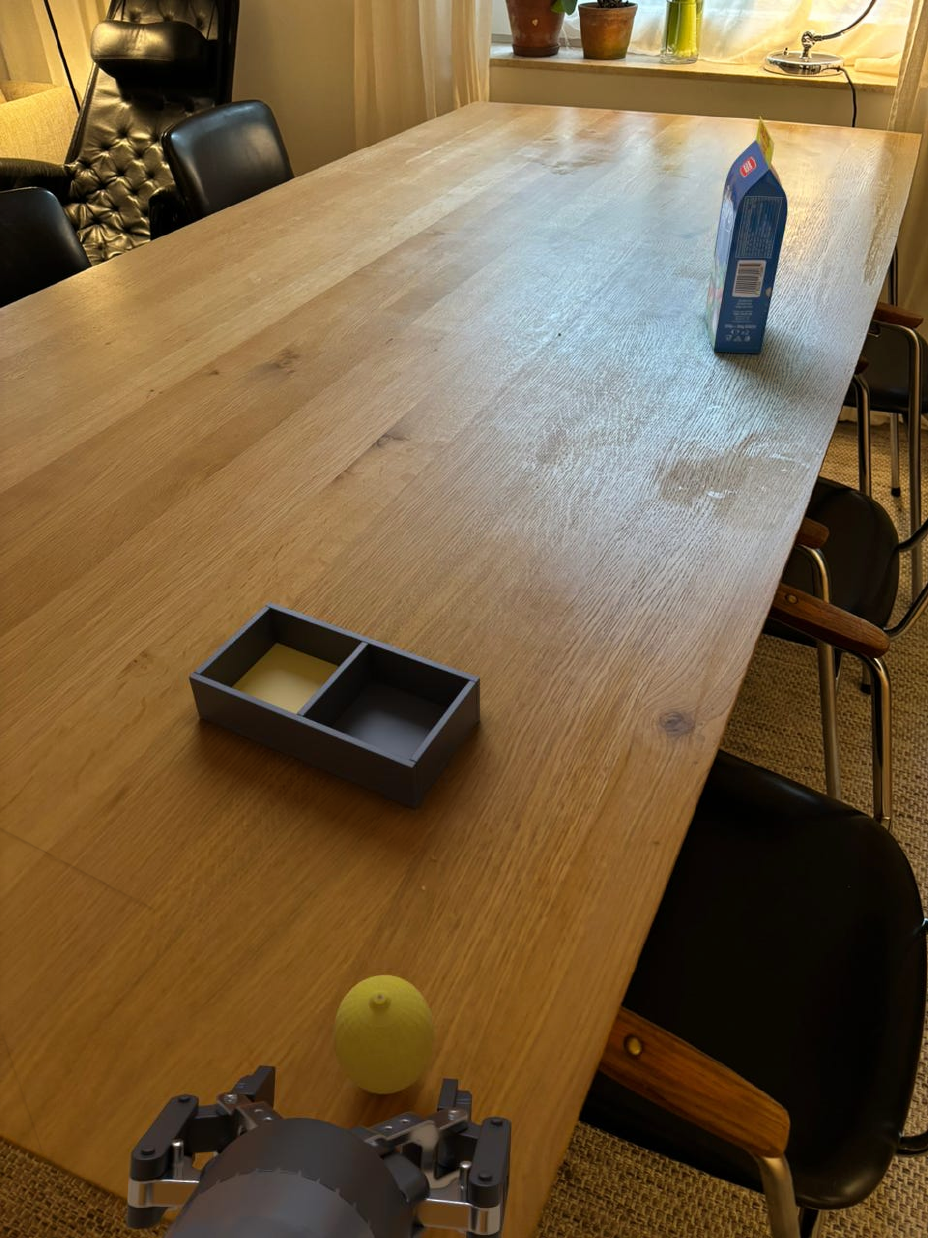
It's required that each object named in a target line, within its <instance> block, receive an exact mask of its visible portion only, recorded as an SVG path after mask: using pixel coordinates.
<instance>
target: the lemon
mask: <svg viewBox="0 0 928 1238" xmlns="http://www.w3.org/2000/svg"><path fill="white" fill-rule="evenodd" d="M435 1042H436V1039H435V1022H434V1018H433V1015H432V1011H431V1009H430V1006H429V1005H428V1002H427V1001H426V998H425V997H424V996H423V995H422V993H421V992H420V990H418V989H417V988H416V987H415V986H414V985H413V984H412V983H411V982H409V981H407V980H405V979H404V978H402V977H399V976H396V975H391V974H378V975H374V976H369V977H368V978H365V979H363V980H360V981H359V982H358V983H357V984H355V985H354V986H353V987H352V988H350V990H349V991H348V993H346V995H345V996H344V998H343V999H342V1000H341V1003H340V1005H339V1007H338V1009H337V1012H336V1014H335V1020H334V1025H333V1045H334V1046H333V1048H334V1052H335V1056H336V1058H337V1061H338V1065H339V1066H340V1069H342V1071H343V1072H344V1074H345V1076H347V1078H348V1079H349V1080H350V1081H351V1082H352V1083H354V1084H355V1085H356V1086H357V1087H359V1088H360V1089H362V1090H365V1091H367V1092H369V1093H370V1094H371V1093H373V1094H379V1095H387V1094H388V1095H389V1094H395V1093H397V1092H400V1091H403V1090H405V1089H407V1088H409V1086H411V1085H413V1084H414V1083H416V1081H418V1079H419V1078H420V1077H421V1076H422V1075H423V1074H424V1073H425V1070H426V1069H427V1067H428V1065H429V1063H430V1061H431V1060H432V1059H431V1058H432V1055H433V1051H434V1048H435Z"/></svg>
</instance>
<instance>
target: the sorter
mask: <svg viewBox="0 0 928 1238" xmlns="http://www.w3.org/2000/svg"><path fill="white" fill-rule="evenodd" d="M188 680H189V683H190V688H191V690H192V695H193V699H194V702H195V706H196V710H197V713H198V718H199V719H201V720H203V721H205V722H207V723H210V724H213V725H216V726H217V727H220V728H222V729H224V730H227V731H230V732H231V733H234V734H236V735H238V736H241V737H243V738H246V739H248V740H250V741H253V742H255V743H257V744H260V745H262V746H265V747H267V748H268V749H271V750H273V751H277V752H279V753H281V754H284V755H286V756H289V757H291V758H293V759H295V760H298V761H300V762H302V763H305V764H306V765H309V766H311V767H314V768H316V769H318V770H321V771H324V772H326V773H328V774H330V775H332V776H335V777H337V778H340V779H342V780H345V781H347V782H350V783H352V784H354V785H356V786H359V787H361V788H364V789H365V790H367V791H370V792H373V793H375V794H377V795H379V796H382V797H384V798H387V799H390V800H392V801H394V802H396V803H399V804H401V805H404V806H406V807H408V808H411V809H413V810H416V809H417V808H418V806H419V805H420V804H421V802H422V801H423V799H424V798H425V796H426V795H427V794H428V792H429V791H430V790H431V788H432V787H433V785H434V784H435V783H436V781H437V780H438V778H439V777H440V775H441V774H442V773H443V771H444V770H445V768H446V767H447V766H448V764H449V763H450V761H451V760H452V759H453V757H454V756H455V754H456V753H457V752H458V750H459V749H460V747H461V746H462V745H463V743H464V742H465V741H466V739H467V738H468V737H469V736H470V733H471V732H472V731H473V729H474V728H475V727H476V725H477V723H478V722H479V721H480V720H481V677H480V676H476V675H473V674H472V673H468V672H465V671H462V670H460V669H456V668H455V667H451V666H449V665H445V664H443V663H441V662H438V661H436V660H435V661H434V660H432V659H429V658H426V657H424V656H421V655H418V654H415V653H413V652H411V651H406V650H404V649H401V648H399V647H396V646H394V645H390V644H387V643H384V642H382V641H379V640H376V639H373V638H371V637H368V636H366V635H362V634H359V633H357V632H354V631H351V630H348V629H345V628H343V627H341V626H338V625H335V624H331V623H328V622H326V621H323V620H320V619H317V618H315V617H312V616H309V615H306V614H304V613H300V612H299V611H296V610H293V609H290V608H287V607H285V606H281V605H279V604H276V603H274V602H270V601H268V602H267V603H266V604H265V605H264V606H263V607H262V608H260V609H259V610H258V611H257V613H255V614H254V615H253V616H252V617H251V618H250V619H249V620H248V621H247V622H246V623H245V624H244V625H243V626H241V627H240V629H238V630H237V631H236V632H235V633H234V634H233V635H232V636H231V637H230V638H229V639H228V640H226V641H225V642H224V643H223V644H222V645H221V646H220V647H219V648H218V649H217V650H216V651H214V653H213V654H212V655H210V657H208V658H207V659H206V660H205V661H204V662H203V663H202V664H201V665H199V666H198V668H197V669H196V670H194V672H192V673H190V675H189V676H188Z"/></svg>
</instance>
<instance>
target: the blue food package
mask: <svg viewBox="0 0 928 1238" xmlns="http://www.w3.org/2000/svg"><path fill="white" fill-rule="evenodd" d="M774 149H775V142H774V140H773V138H772V136H771V135H770V133H769V130H768V128H767V126H766V124H765V122H764V121H763V118H762V117H761V116H759V119H758V124H757V131H756V137H755V139H754V141H753V142H752V143H751V144H749V146H747V147H746V148H745V149H744V150H743V151H742V152H741V153H740V154H739V156H738V157H736V159H735V160H734V161H733V162H732V164H731V166H730V168H729V170H728V173H727V175H726V178H725V181H724V186H723V192H722V197H721V204H720V211H719V217H718V225H717V232H716V237H715V244H714V250H713V257H712V262H711V263H712V264H711V269H710V276H709V283H708V289H707V295H706V302H705V309H704V314H705V325H706V326H707V332H708V336H709V337H708V338H709V342H710V344H711V347H712V349H713V350H712V351H713V352H715V353H731V354H733V353H734V354H760V353H761V352H762V348H763V344H764V343H763V342H764V339H765V333H766V327H767V323H768V317H769V314H770V313H769V312H770V307H771V303H772V302H771V301H772V297H773V291H774V287H775V283H776V277H777V273H778V272H777V271H778V266H779V261H780V257H781V251H782V246H783V241H784V236H785V230H786V225H787V219H788V208H789V207H788V197H787V194H786V191H785V189H784V188H783V184H782V181H781V179H780V176H779V174H778V171H777V170H776V168H775V166H774V165H773V164H772V161H773V154H774Z"/></svg>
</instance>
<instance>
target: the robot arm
mask: <svg viewBox="0 0 928 1238" xmlns="http://www.w3.org/2000/svg"><path fill="white" fill-rule="evenodd" d="M276 1069H277V1068H276V1066H275V1065H262V1064H260V1065H258V1067H257V1068H256V1069H255V1070H254V1072H253V1074H246V1075H245V1076H242V1077H241V1078H239V1079H238V1080H237V1082H236V1083H235V1084H234V1086H233V1087H232V1088H231V1090H230V1091H225V1092H222V1093H220V1094H218V1095H217V1096H216V1098H215V1103H213V1104H208V1105H207V1104H206V1105H200V1098H199V1096H197V1095H194V1094H187V1093H183V1094H178V1095H175V1096H173V1097H171V1098H170V1099H169V1100H168V1101H167V1103H166V1104H165V1106H164V1107H163V1108H162V1109H161V1111H160V1112H159V1114H158V1115H157V1116H156V1118H155V1119H154V1120H153V1122H152V1123H151V1125H150V1126H149V1127H148V1128H147V1130H146V1132H145V1133H144V1134H143V1136H142V1137H141V1138H140V1140H139V1141H138V1142H137V1144H136V1145H135V1147H134V1148H133V1149H132V1150H131V1152H130V1161H129V1162H130V1165H129V1173H128V1186H127V1187H128V1188H127V1201H126V1203H127V1205H126V1207H127V1208H126V1218H125V1219H126V1220H125V1221H126V1222H125V1223H126V1225H127V1227H129V1228H130V1229H134V1230H144V1229H150V1228H152V1227H155V1226H156V1225H158V1224H159V1223H160V1222H161V1220H162V1218H163V1216H164V1214H165V1213H166V1211H167V1210H168V1211H170V1212H171V1211H176V1210H178V1209H179V1208H180V1211H179V1212H178V1214H177V1215H176V1217H175V1218H174V1219H173V1221H172V1222H171V1223H170V1225H169V1227H168V1228H167V1230H166V1231H165V1233H164V1234H163V1236H162V1237H161V1238H421V1237H422V1236H423V1235H424V1233H425V1231H426V1230H427V1228H436V1229H445V1230H455V1231H457V1232H458V1233H459V1234H463V1235H465V1238H502V1233H503V1227H504V1221H505V1214H506V1207H507V1202H508V1196H509V1191H510V1190H509V1189H510V1176H511V1173H510V1172H511V1151H512V1149H511V1147H512V1121H510V1120H509V1119H508V1118H505V1117H500V1116H489V1117H486V1118H484V1119H482V1121H481V1124H478V1123H475V1122H473V1121H472V1115H473V1114H472V1113H473V1112H472V1110H473V1095H472V1093H471V1092H470V1091H469V1090H465V1089H459V1078H445V1077H443V1078H442V1082H441V1086H440V1087H441V1088H440V1092H439V1095H438V1102H437V1105H436V1111H435V1112H433V1113H431V1114H428V1115H426V1116H423V1115H420V1114H418V1113H415V1112H413V1111H409V1110H408V1111H406V1112H403V1113H400V1114H398V1115H396V1116H394V1117H390V1118H389V1119H386V1120H384V1121H381V1122H379V1123H376V1124H373V1125H371V1126H369V1127H366V1126H364V1125H361V1124H358V1125H355V1126H353V1127H350V1128H348V1129H347V1128H345V1127H343V1126H340V1125H337V1124H335V1123H332V1122H329V1121H326V1120H322V1119H318V1118H317V1119H316V1118H310V1117H288V1118H283V1116H282V1115H281V1114H280V1113H278V1112H277V1111H276V1110H275V1109H274V1107H275V1106H274V1105H275V1094H276V1093H275V1091H276V1074H277V1072H276V1071H277V1070H276ZM398 1148H400V1150H398ZM202 1153H212V1157H211V1158H210V1159H208V1160H207V1162H205V1163H204V1165H203V1167H202V1169H197V1168H195V1167H194V1166H193V1165H194V1163H195V1161H196V1156H197V1155H196V1154H202Z"/></svg>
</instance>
